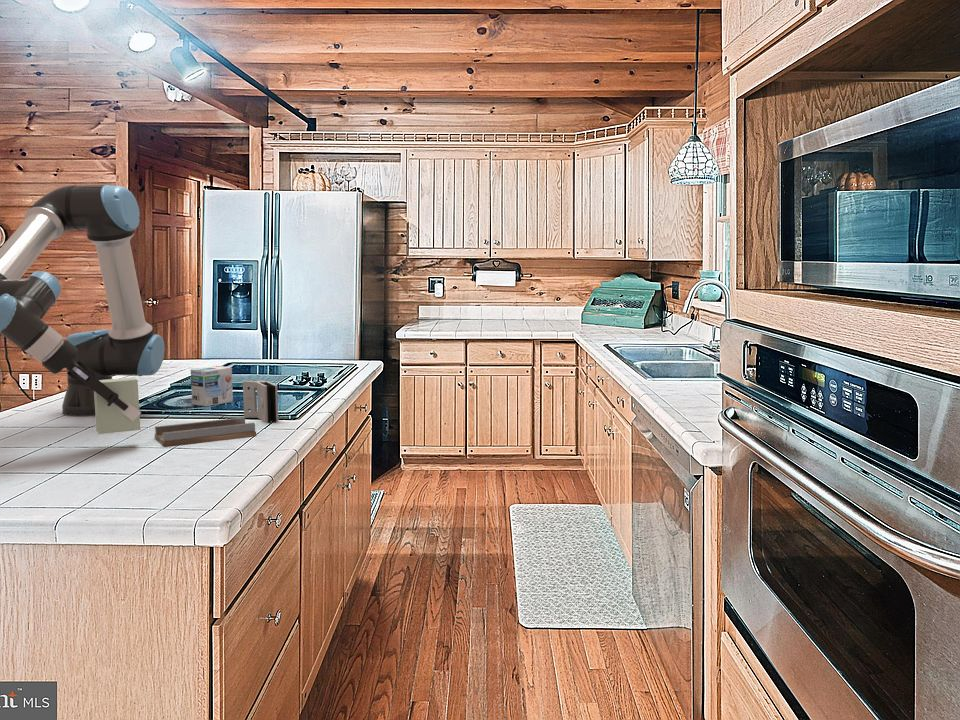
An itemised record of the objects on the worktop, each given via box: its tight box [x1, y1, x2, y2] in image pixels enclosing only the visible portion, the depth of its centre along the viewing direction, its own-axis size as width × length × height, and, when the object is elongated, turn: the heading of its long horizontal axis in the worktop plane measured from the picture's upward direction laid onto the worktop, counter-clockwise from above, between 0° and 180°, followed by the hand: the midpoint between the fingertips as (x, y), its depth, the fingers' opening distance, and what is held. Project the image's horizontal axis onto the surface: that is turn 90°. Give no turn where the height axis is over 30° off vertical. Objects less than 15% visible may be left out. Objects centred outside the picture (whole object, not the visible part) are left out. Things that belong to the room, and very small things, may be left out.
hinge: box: [242, 380, 279, 424], centre depth 232 cm, size 14×5×10 cm, turn 43°
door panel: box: [94, 376, 141, 435], centre depth 197 cm, size 4×9×12 cm, turn 123°
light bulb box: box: [190, 365, 234, 407], centre depth 254 cm, size 11×7×11 cm, turn 147°
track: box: [154, 416, 257, 448], centre depth 209 cm, size 11×22×3 cm, turn 123°
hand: (134, 414), depth 199 cm, fingers closed on door panel, 4 cm apart
